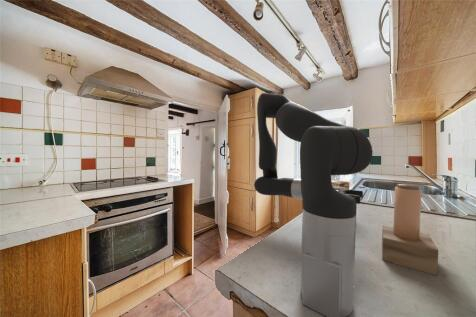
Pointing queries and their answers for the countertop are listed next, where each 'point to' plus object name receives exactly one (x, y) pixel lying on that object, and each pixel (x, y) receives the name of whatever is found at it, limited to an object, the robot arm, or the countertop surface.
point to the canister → (407, 211)
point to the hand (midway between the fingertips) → (361, 197)
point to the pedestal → (410, 251)
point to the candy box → (341, 184)
